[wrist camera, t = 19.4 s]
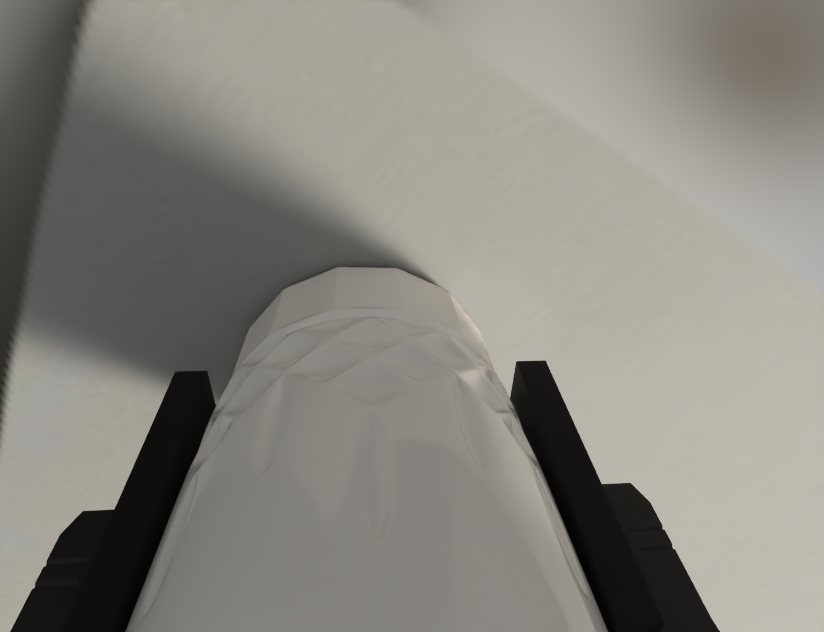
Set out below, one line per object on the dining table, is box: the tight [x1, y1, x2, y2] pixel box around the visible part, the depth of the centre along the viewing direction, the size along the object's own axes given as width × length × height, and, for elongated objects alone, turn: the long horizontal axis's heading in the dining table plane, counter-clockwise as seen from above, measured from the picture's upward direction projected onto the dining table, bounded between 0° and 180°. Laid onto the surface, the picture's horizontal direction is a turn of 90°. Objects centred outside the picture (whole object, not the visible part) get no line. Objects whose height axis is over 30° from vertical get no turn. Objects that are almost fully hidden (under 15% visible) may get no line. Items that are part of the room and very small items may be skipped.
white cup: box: [125, 267, 608, 632], centre depth 11 cm, size 8×8×10 cm
